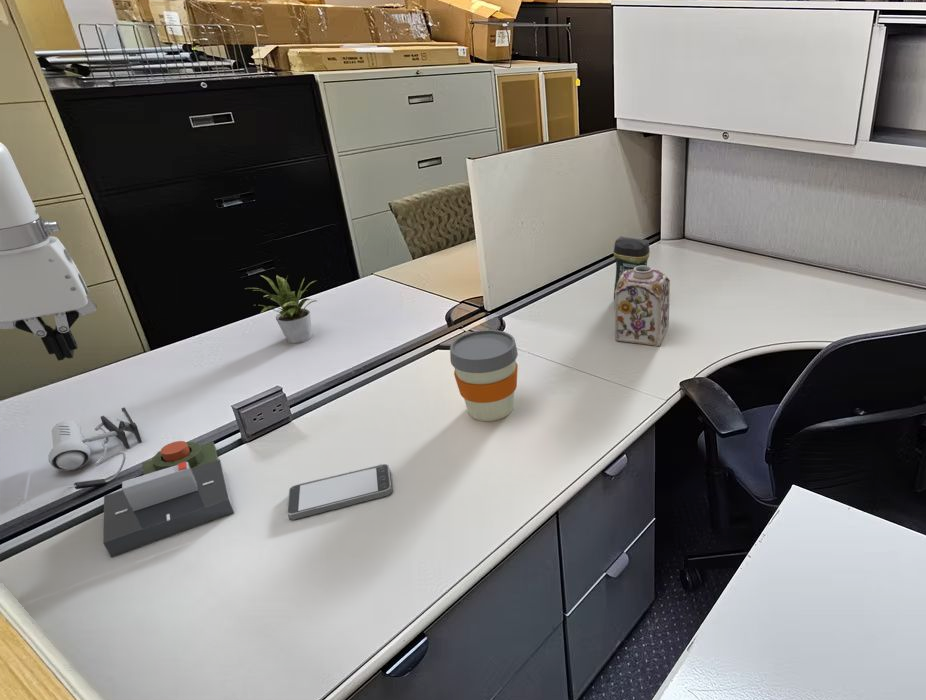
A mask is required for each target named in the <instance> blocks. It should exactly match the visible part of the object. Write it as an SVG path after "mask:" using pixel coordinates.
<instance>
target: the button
mask: <svg viewBox="0 0 926 700" xmlns="http://www.w3.org/2000/svg"><path fill="white" fill-rule="evenodd" d="M186 442H187V441H183V440H178V441H176V440H175V441H173V442H169V443H168V444H165V445H164V446H163V447H162V448H160V450H159V451H160V452H161V454H162V457H163V459H164V461H165V462H174V461H177V460H180V459H182V458H184V457H186V456H188V455H189V454H190V450H189V447H188V445H187V443H186Z"/></svg>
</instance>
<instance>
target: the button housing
mask: <svg viewBox="0 0 926 700" xmlns="http://www.w3.org/2000/svg"><path fill="white" fill-rule="evenodd" d="M185 442H186V443H187V445H188V447H189V450H190V454H189V455H188V456H186V457H184V458H182V459H180V460H177V461H174V462H165V461H164V459H163V457H162V454H161V452H160V451H161V450H159V451H158V452H156V454H155V455H154V456H153V457H152V458H151V459H150V460H147V461H143V462H142V463H141V464H142V476H143V475H146V474H149V473H152V472H156V471H159V470H162V469H166V468H169V467H172V466H175V465H178V464H179V463H182V462H185V461H186V462H188V463H189V466H190V468H194V467H197V466H200V465H204V464H207V463H210V462H213V461H216V460H219V459H220V458H219V455H218V450H217V446H216V445H215V442H214V441H210V442H207V443H203V444H200V443H197V442H195V441H185Z"/></svg>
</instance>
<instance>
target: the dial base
mask: <svg viewBox="0 0 926 700" xmlns="http://www.w3.org/2000/svg"><path fill="white" fill-rule="evenodd" d="M218 459H219V460H216V461H213V462H210V463H207V464H204V465H200V466H197V467H194V468H191V470H192V473H193V475H194V477H195V480H196V482H197V486H198V491H195V492H192V493H189V494H185V495H182V496H179V497H176V498H173V499H170V500H167V501H164V502H161V503H158V504H155V505H152V506H149V507H146V508H143V509H140V510H137V511H133V510H132V508H131V506H130V504H129V502H128V500H127V498H126V496H125V494H124V492H123V490H122V489H121V490H118V491H115V492H112V493H109V494H105V495H104V496H103V532H102V533H103V534H102V544H103V546H104V547H105V549H106V551H107V553H108V555H109V557H110V558H114V557H118V556H120V555H123V554H126V553H128V552H131V551H133V550H137V549H139V548H142V547H145V546H148V545H150V544H153V543H155V542H158V541H161V540H165V539H166V538H171V537H172V536H175V535H179V534H181V533H184V532H186V531H189V530H192V529H194V528H195V529H196V528H197V527H200V526H203V525H205V524H208V523H211V522H215V521H217V520H220V519H222V518H226V517H228V516H231V515H234V514H235V510H234V505H233V501H232V496H231V492H230V488H229V483H228V478H227V474H226V471H225V469H224V466H223V463H222V461H221V459H220V458H218Z"/></svg>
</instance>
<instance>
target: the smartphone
mask: <svg viewBox="0 0 926 700" xmlns="http://www.w3.org/2000/svg"><path fill="white" fill-rule="evenodd" d="M390 470H391V469H390V466H389V464H388V463H381V464H376V465H373V466H369V467H364V468H360V469H357V470H353V471H348V472H345V473H340V474H334V475H332V476H331V475H330V476H327V477H322V478H319V479H315V480H309V481H306V482H302V483H298V484H294V485H292V486H290V488H289V489H288V499H287V509H286V514H287V516H288V519H289V520H290V521H291V520H293V521H294V520H297V519H302V518H306V517H309V516H314V515H317V514H321V513H325V512H329V511H333V510H336V509H340V508H345V507H348V506H352V505H356V504H360V503H364V502H367V501H371V500H376V499H379V498H383V497H387V496H390V495H391V494H392V493H393V488H392V478H391V471H390Z"/></svg>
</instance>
